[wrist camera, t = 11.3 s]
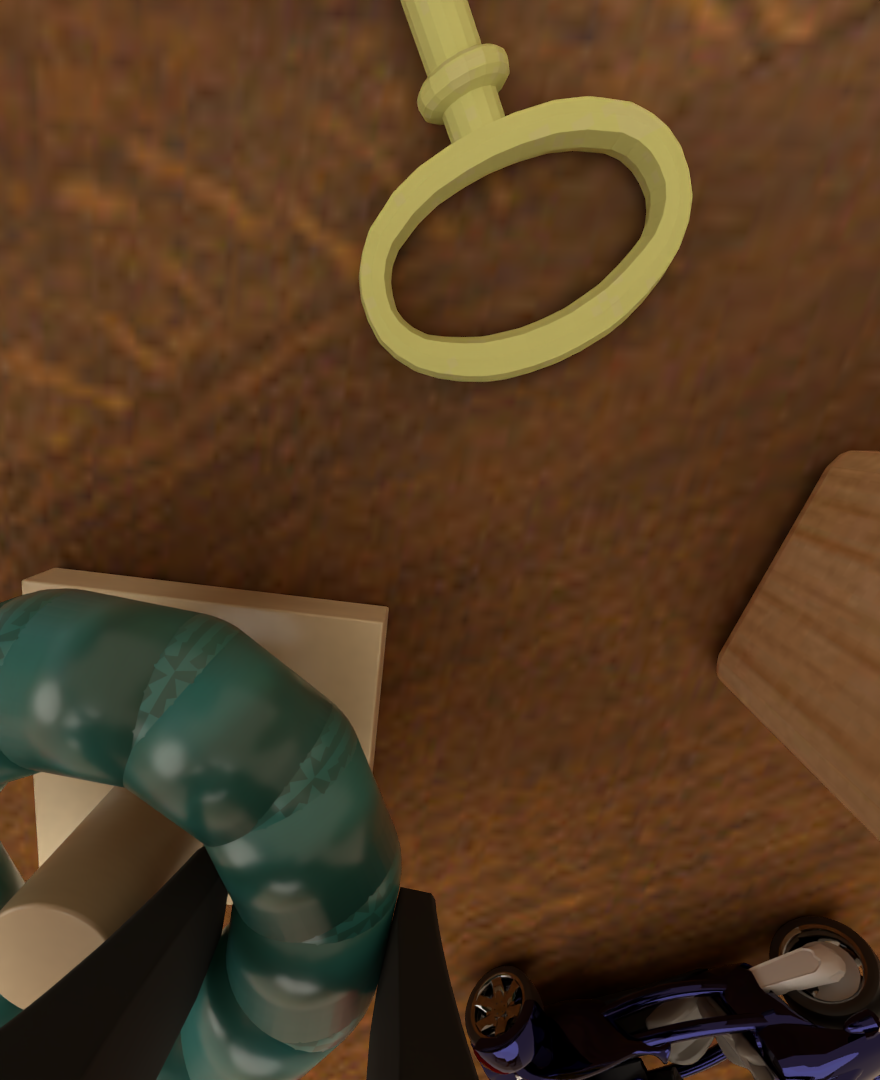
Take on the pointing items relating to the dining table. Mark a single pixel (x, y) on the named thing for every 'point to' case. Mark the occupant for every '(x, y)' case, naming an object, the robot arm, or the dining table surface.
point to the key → (492, 144)
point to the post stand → (130, 823)
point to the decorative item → (821, 637)
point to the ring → (217, 809)
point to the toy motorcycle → (697, 1018)
